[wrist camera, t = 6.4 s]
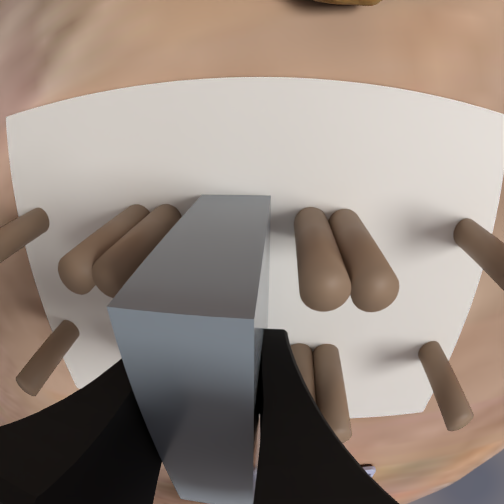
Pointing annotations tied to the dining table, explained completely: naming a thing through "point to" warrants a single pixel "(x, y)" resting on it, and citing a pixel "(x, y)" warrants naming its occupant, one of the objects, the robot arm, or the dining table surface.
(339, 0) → the pastry
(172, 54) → the dining table surface
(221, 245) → the slate grey rectangular block
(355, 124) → the peg rack
